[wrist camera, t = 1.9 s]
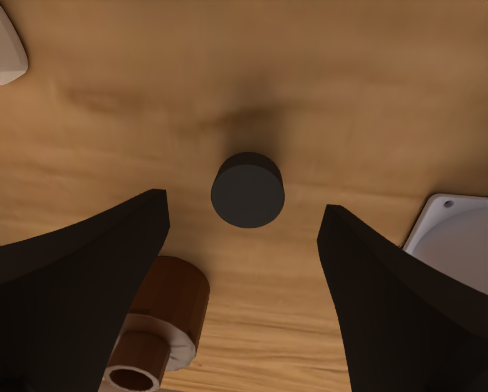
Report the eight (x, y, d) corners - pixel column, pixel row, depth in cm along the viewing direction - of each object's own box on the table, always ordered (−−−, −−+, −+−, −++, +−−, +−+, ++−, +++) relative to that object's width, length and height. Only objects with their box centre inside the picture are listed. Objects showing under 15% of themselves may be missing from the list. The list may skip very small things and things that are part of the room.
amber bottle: (209, 260, 19) (183, 356, 12) (209, 314, 22) (189, 411, 16) (124, 252, 19) (57, 342, 13) (137, 306, 22) (90, 399, 16)
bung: (285, 148, 14) (290, 167, 11) (276, 203, 16) (279, 231, 13) (220, 142, 14) (210, 160, 11) (219, 198, 16) (210, 225, 13)
